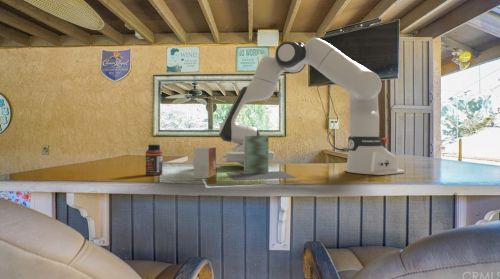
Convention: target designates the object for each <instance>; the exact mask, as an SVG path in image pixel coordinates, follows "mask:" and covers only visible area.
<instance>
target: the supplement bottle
mask: <svg viewBox="0 0 500 279" xmlns="http://www.w3.org/2000/svg"><path fill="white" fill-rule="evenodd" d="M145 175H146V176H150V177H155V176H156V177H157V176H161V175H163V151H162V150H161V146H160V144H154V143H153V144H150V143H149V144H148V149H147V150H146V151H145Z"/></svg>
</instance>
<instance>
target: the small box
mask: <svg viewBox="0 0 500 279" xmlns="http://www.w3.org/2000/svg"><path fill="white" fill-rule="evenodd" d="M216 174H217V147H213V146H212V147H211V146H210V147H209V146H208V147H207V146H205V147H204V146H203V147H197V148H193V178H194V179H197V180H199V179H201V180H204V179H205V178H208V179H209V178H212V177H213V176H215V175H216Z"/></svg>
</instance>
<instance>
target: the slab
mask: <svg viewBox="0 0 500 279" xmlns="http://www.w3.org/2000/svg"><path fill="white" fill-rule="evenodd" d="M268 150H269V135H260V136H244V165H243V172H244V174H256V173H268V172H269V161H268Z"/></svg>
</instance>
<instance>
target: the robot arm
mask: <svg viewBox="0 0 500 279" xmlns="http://www.w3.org/2000/svg"><path fill="white" fill-rule="evenodd" d="M274 54H275V55H265V56H263V57H262V58H261V59H260V61H259V63H258V65H257V67H256V68H255V71H254V75H253V77H252V80H251V82H250V83H249V84H248V85H245V86H243V87H242V88H241V89H240V91H239V92H238V94H237V96H236V97H235V100H234V101H233V102H232V105H231V107H230V109H229V111H228V113H227V115H226V117H225V118H224V120H223V122H222V123H221V125H220V126H219V130H218V135H219V137H220V139H221V140H222V141H223V142H226V143H227V142H229V143H234V144H236V145H234V146H233V147H232V148H231V151H227V152H225V153H224V154H223V155H222V158H225V162H226V163H238V164H240V165H242V166H244V136H261V135H260V132H259V129H258V128H257V127H256V126H253V125H249V124H246V123H243V122H238V121H236V119H237V118H238V116H239V114H240V112H241V110H242V108H243V107H244V106H245V104H247V103H249V102H260V101H265V100H268V99H270V98H271V97H272V96H273V95H274V93H275V91H276V88H277V84H278V82H279V78H280V77H281V75H282V74H288V75H290V74H291V75H292V74H293V75H294V74H299V73H301V72H302V71H303V70H304V69H305V67H306V65H310V66H311V67H313V68H314V69H315V70H317V71H318V72H319V73H320V74H322V75H323V76H324V77H326V78H327V79H329V81H330V82H332V83H334V84H336V85H337V86H339V87H340V88H341V89H343V90H344V91H346V92H348V94H349V136H348V139H347V148H348V155H347V161H346V165H345V168H344V171H345V172H348V173H354V174H363V175H374V176H382V175H394V174H395V175H396V174H405V170H404V169H401V168H399V166H398V165H399V163H398V159H397V156H395V154H393V153H392V152H391V151H389V150H388V149H387V148H385V146H384V144H388V142H389V139H388V138H387V137H382V138H381V137H380V109H379V94H380V93H381V90H382V84H383V83H382V82H383V81H382V80H381V78H380V76H379V75H378V74H377V73H375V72H374V71H372V70H370V69H369V68H367V67H366V66H364V65H362V64H360V63H358V62H357V61H355V60H353V59H351V58H350V57H349V56H347V55H346V54H344V53H343V52H342V51H341V50H339V49H338V48H336V47H335V46H333V45H332V44H331V43H329V42H327V41H326V40H323V39H321V38H319V37H312V38H310V39H308V40H307V41H306V42H305V44H304V43H303V42H300V41H291V40H288V41H283V42H281V43H279V45H278V46H277V47H276V50H275V53H274ZM274 161H275V152H274V151H272V150H270V149H268V162H274Z"/></svg>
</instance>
